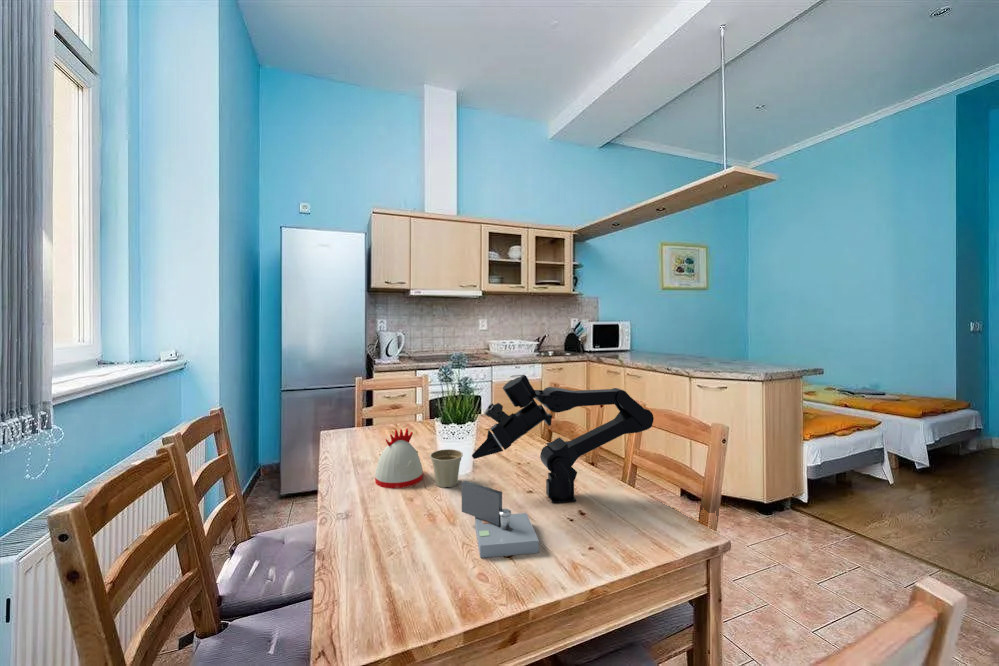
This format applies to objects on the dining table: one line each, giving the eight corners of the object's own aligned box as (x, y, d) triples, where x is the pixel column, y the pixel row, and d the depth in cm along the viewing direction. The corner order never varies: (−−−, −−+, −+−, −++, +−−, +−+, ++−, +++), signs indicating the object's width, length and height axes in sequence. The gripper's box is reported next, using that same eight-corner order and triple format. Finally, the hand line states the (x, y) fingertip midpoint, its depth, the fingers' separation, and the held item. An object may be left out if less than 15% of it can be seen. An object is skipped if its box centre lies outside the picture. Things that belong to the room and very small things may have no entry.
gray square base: (526, 523, 94) (526, 512, 94) (538, 552, 82) (538, 539, 82) (475, 527, 93) (475, 516, 93) (480, 558, 81) (480, 544, 81)
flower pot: (457, 491, 112) (457, 461, 112) (425, 489, 114) (424, 458, 113) (466, 478, 121) (466, 450, 121) (437, 476, 123) (436, 448, 123)
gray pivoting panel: (513, 525, 88) (513, 493, 87) (506, 531, 86) (506, 497, 85) (467, 509, 96) (466, 479, 95) (459, 513, 94) (459, 483, 93)
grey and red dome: (430, 481, 119) (429, 431, 119) (383, 492, 112) (382, 438, 111) (412, 467, 131) (412, 421, 130) (369, 476, 123) (369, 427, 123)
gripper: (505, 399, 116) (460, 431, 114) (506, 390, 98) (452, 428, 96) (528, 432, 114) (482, 465, 111) (533, 429, 96) (478, 469, 93)
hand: (474, 456), depth 103 cm, fingers open, 9 cm apart
